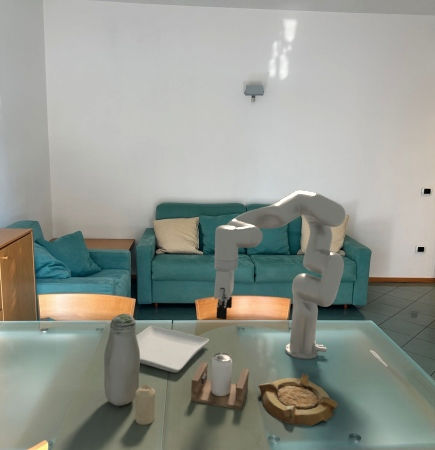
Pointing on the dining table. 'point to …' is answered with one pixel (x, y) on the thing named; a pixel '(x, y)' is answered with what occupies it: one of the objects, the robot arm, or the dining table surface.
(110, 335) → the gray bottle
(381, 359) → the butter knife
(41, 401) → the dining table surface
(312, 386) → the ashtray
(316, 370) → the dining table surface
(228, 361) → the can
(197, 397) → the holder
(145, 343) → the square plate
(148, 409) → the candle
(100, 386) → the dining table surface
